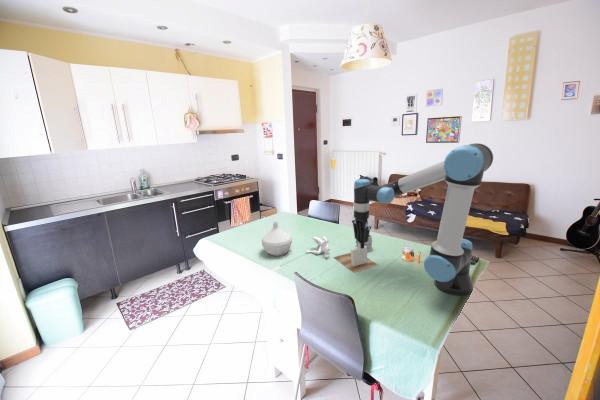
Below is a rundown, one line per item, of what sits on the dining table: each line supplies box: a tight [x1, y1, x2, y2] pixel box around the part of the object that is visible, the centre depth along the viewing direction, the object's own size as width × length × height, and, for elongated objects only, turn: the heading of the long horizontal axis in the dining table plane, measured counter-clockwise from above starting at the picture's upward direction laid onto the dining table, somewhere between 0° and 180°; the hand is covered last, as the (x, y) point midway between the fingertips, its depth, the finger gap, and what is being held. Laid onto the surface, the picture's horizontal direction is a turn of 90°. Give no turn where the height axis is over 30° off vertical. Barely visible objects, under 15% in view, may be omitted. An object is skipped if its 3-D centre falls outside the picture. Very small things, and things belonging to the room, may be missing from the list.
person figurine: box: [305, 235, 331, 259], centre depth 165 cm, size 13×13×18 cm
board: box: [332, 252, 379, 274], centre depth 152 cm, size 20×16×1 cm
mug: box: [355, 233, 373, 253], centre depth 166 cm, size 8×12×12 cm, turn 35°
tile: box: [350, 246, 368, 267], centre depth 148 cm, size 2×9×9 cm, turn 115°
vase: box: [261, 221, 293, 257], centre depth 168 cm, size 18×18×19 cm
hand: (360, 253), depth 146 cm, fingers closed
